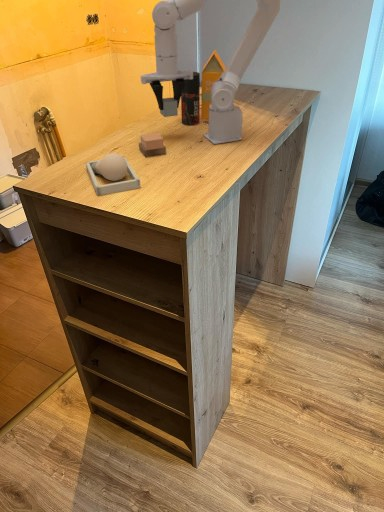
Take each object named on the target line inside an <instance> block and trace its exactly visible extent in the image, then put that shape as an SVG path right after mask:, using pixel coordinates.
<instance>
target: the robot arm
mask: <svg viewBox="0 0 384 512" xmlns="http://www.w3.org/2000/svg"><path fill="white" fill-rule="evenodd" d="M206 2H207V0H159V2H157V3H156V4H155V5H154V6H153V8H152V13H151V14H152V15H151V17H152V21H153V23H154V28H153V30H154V36H153V37H154V51H155V67H156V72H151V73H147V74H140V82H141V84H142V85H147V84H149V86H150V87H151V89H152V91H153V94H154V97H155V99H156V102H157V105H158V109H159V111H160V110H163V95H164V94H163V91H164V86H163V85H162V83H164V82H171V85H172V92H173V98H174V99H175V100H177V109H179V106H180V102H181V94H182V92H183V89H184V87H185V85H186V82H185V81H184V79H193V72H194V71H193V70H178V45H177V44H178V42H177V38H178V37H177V35H176V21H180V22H181V21H183V20H185V19H188V18H189V17H191V16H192V15H194V14H197V13H198V12H200V11H202V10H203V9H204V7H205V4H206ZM256 3H257V7H258V8H257V10H256V12H255V14H254V16H253V17H252V20H251V21H250V23H249V25H248V27H247V29H246V31H245V33H244V35H243V36H242V38H241V40H240V42H239V44H238V46H237V48H236V50H235V52H234V53H233V56H232V57H231V59H230V61H229V62H228V65H227V67H226V70H225V71H224V72H223V73H222V75H221V77H220V78H219V79H218V80H217V81H215V82H214V83H213V85H212V87H211V96H212V97H211V101H212V103H211V104H210V105H209V120H208V132H207V133H203V137H205V138H206V139H207V140H208V141H209V142H211V144H213V145H217V144H223V143H230V142H236V141H237V142H238V141H242V140H243V137H242V134H243V131H242V130H243V121H244V120H243V118H244V117H243V116H244V115H243V111H242V109H241V107H240V106H239V105H234V103H235V99H236V98H235V96H236V93H237V91H238V89H239V86H240V83H241V80H242V79H243V76H244V74H245V73H246V71H247V69H248V67H249V66H250V64H251V62H252V61H253V59H254V57H255V55H256V54H257V51H258V49H259V48H260V46H261V44H262V43H263V41H264V38H265V37H266V36H267V34H268V32H269V30H270V28H271V27H272V25H273V23H274V21H275V20H276V18H277V16H278V14H279V13H280V12H279V11H280V8H281V0H256Z"/></svg>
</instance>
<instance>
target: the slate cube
mask: <svg viewBox="0 0 384 512" xmlns="http://www.w3.org/2000/svg"><path fill="white" fill-rule="evenodd" d="M159 113H160V115H162V117H164V118H168V117H177V116H178V115H179V114H178V113H179V112H178V108H177V100H175V99H174V98H173V97H165V98H163V110H160V109H159Z"/></svg>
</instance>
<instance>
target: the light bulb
mask: <svg viewBox="0 0 384 512" xmlns="http://www.w3.org/2000/svg"><path fill="white" fill-rule="evenodd" d="M122 156H123V155H121V154H119V153H115V152H113V153H112V152H110V153H107V154H106V155H104V156H103V157H102V158H101V159H100V160H101V161H98V162H94V163H93V164H92V165H91V168H92V171H93V173H94V174H98V175H101V176H103V177H104V179H107V180H108V181H112V182H113V181H114V182H116V181H117V182H118V181H120V180H122V179H124V177H125V176H126V175H127V173H128V172H127V163H126V161H125V159H124V158H123V157H122Z"/></svg>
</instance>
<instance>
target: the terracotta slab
mask: <svg viewBox="0 0 384 512" xmlns="http://www.w3.org/2000/svg"><path fill="white" fill-rule="evenodd" d="M139 136H140V143H141V144H142V146H143V147H144V148H145V150H152V149H158V148H164V146H165V145H164V144H165V143H164V138H163V137H162V136H161V134H159V133H158V132H154V133H153V132H152V133H146V134H140V135H139Z"/></svg>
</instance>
